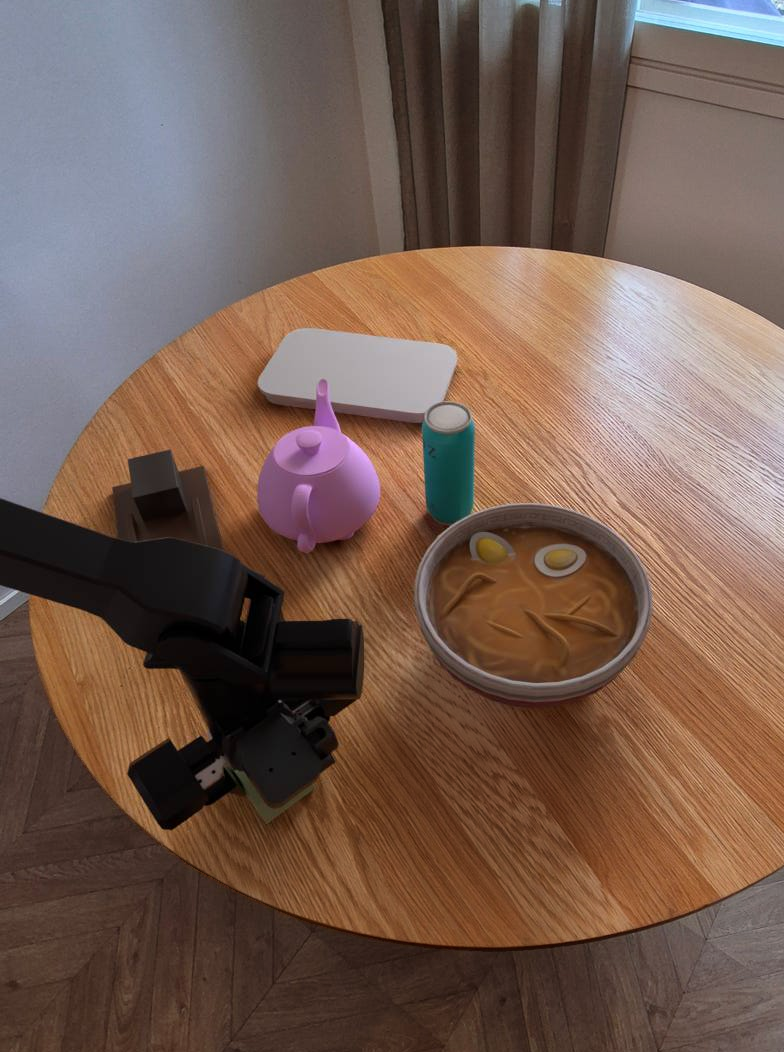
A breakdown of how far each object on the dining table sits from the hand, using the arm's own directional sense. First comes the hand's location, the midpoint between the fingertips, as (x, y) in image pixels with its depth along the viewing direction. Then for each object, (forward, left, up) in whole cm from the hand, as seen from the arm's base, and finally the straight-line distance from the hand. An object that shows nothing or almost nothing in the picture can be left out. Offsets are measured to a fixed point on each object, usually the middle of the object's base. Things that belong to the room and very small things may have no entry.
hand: (268, 773), depth 72 cm
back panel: (-5, +35, -1) cm, 36 cm away
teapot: (+13, +32, -1) cm, 35 cm away
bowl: (+28, +5, -1) cm, 28 cm away
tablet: (+24, +55, -1) cm, 60 cm away
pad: (0, 0, -1) cm, 1 cm away
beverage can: (+27, +26, -1) cm, 38 cm away
